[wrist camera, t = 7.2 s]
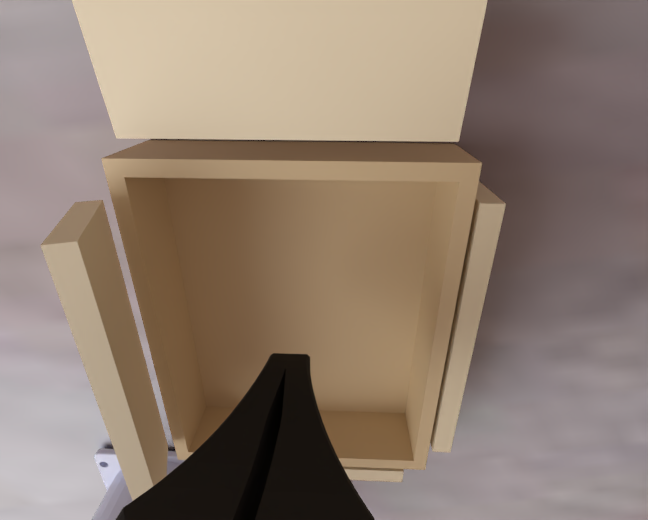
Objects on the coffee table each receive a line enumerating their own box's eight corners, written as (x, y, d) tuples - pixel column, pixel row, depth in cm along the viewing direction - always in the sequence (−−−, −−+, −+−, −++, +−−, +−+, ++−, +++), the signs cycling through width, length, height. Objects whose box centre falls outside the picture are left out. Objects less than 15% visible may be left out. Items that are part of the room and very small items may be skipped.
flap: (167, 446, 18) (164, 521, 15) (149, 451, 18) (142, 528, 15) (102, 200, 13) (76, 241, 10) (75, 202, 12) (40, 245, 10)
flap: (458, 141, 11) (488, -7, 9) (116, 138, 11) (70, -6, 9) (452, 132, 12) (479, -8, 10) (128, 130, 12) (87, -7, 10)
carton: (429, 426, 22) (443, 483, 19) (203, 417, 22) (181, 473, 19) (479, 143, 15) (515, 163, 12) (148, 140, 15) (101, 158, 12)
